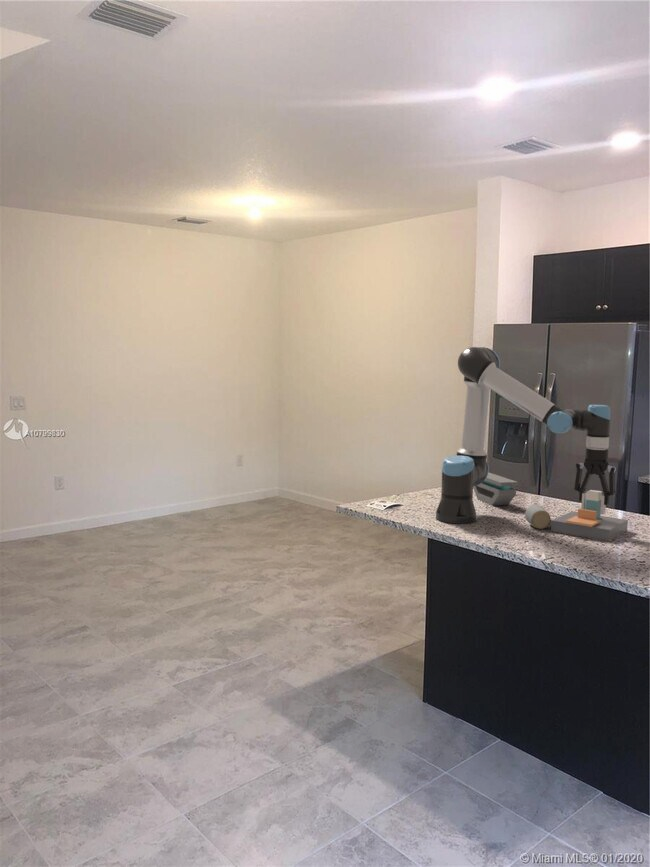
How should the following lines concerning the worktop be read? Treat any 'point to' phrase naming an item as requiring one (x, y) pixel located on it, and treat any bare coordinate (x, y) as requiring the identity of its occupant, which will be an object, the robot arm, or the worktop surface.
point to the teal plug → (594, 502)
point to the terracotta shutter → (585, 518)
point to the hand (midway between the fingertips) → (593, 512)
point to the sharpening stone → (495, 490)
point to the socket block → (600, 531)
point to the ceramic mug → (538, 517)
